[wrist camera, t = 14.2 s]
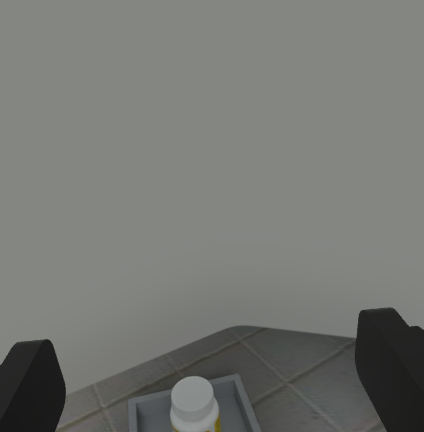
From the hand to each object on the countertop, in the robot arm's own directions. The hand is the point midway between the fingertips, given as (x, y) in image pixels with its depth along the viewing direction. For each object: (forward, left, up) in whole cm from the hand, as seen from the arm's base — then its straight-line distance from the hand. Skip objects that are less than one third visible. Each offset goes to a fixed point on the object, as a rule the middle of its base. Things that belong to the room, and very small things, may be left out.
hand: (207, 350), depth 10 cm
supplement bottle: (-1, -18, -30) cm, 35 cm away
